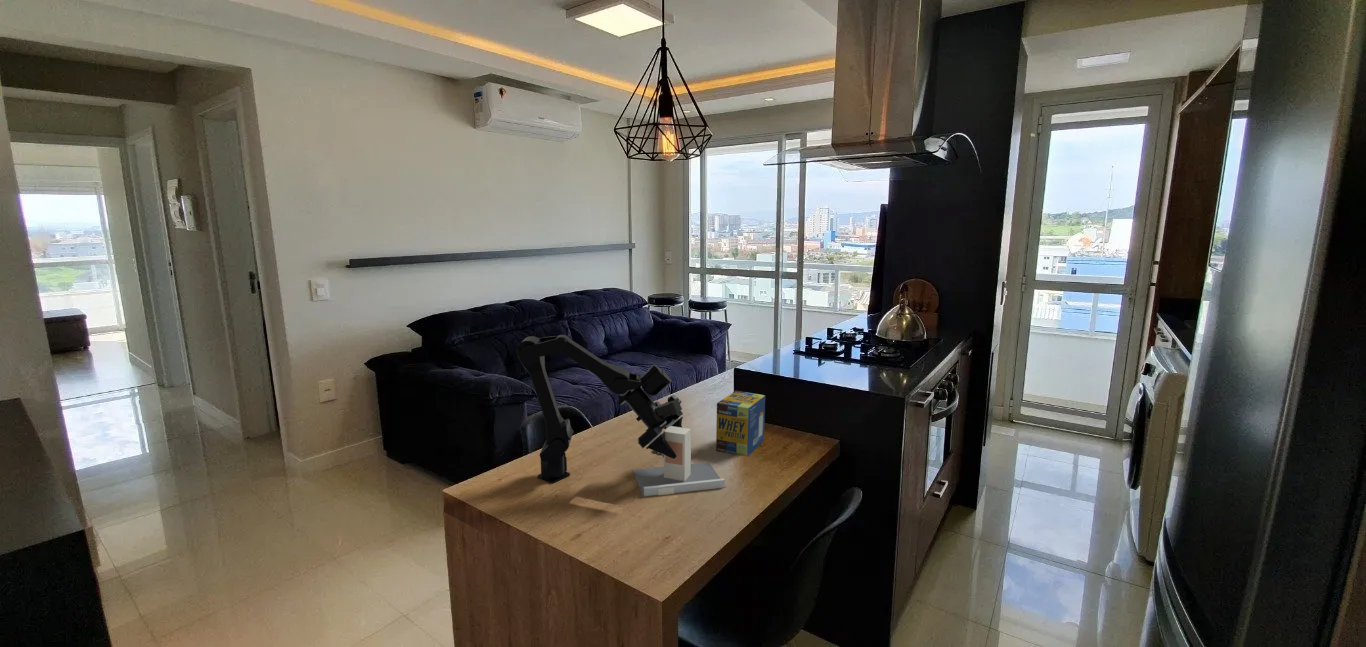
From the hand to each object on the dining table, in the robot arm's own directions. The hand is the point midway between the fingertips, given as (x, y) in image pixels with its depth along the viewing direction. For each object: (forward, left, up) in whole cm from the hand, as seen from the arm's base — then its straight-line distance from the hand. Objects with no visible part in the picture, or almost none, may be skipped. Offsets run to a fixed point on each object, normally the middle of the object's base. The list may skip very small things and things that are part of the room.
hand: (681, 451), depth 151 cm
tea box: (0, +1, -7) cm, 7 cm away
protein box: (+32, 0, -9) cm, 33 cm away
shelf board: (-1, 0, -9) cm, 9 cm away
